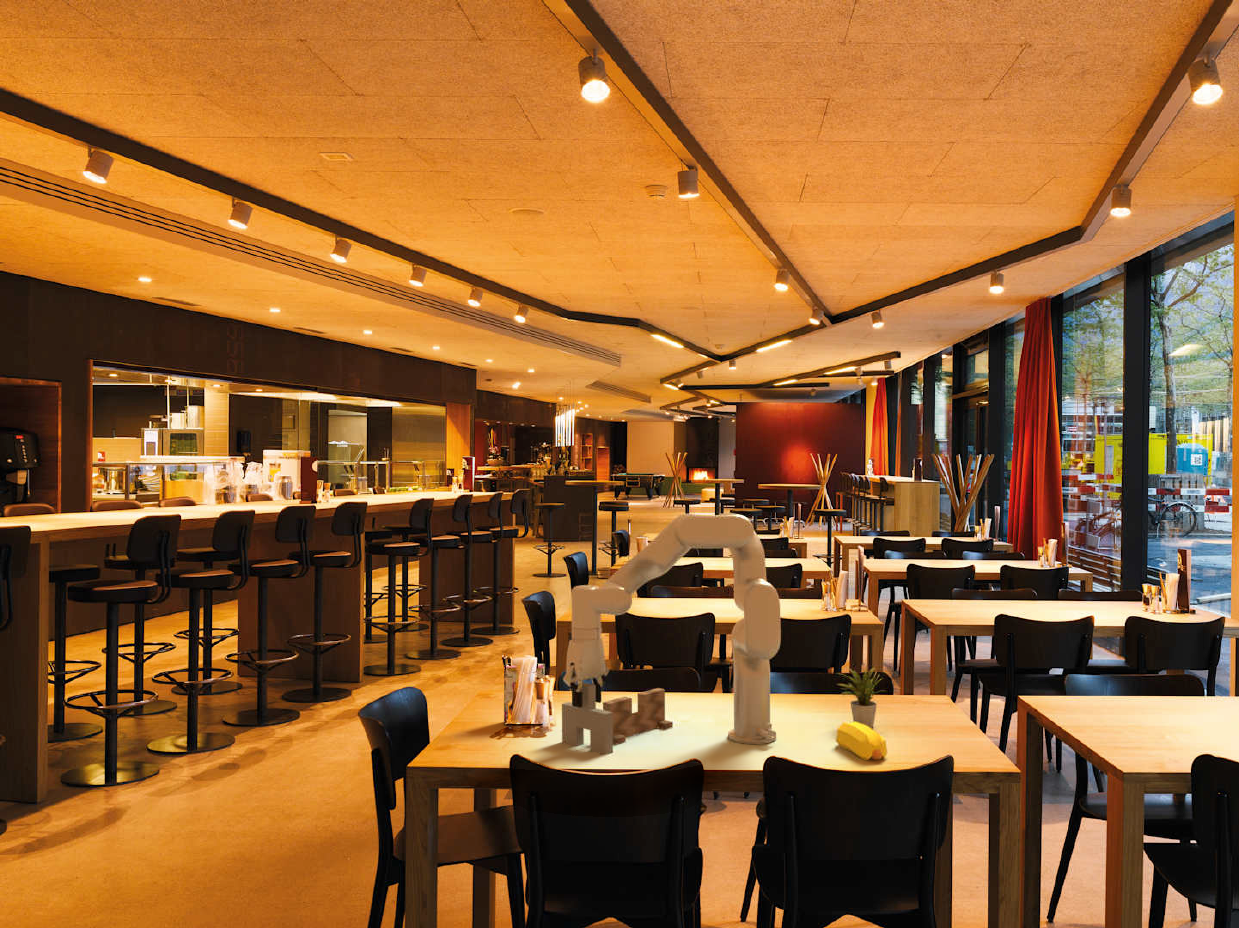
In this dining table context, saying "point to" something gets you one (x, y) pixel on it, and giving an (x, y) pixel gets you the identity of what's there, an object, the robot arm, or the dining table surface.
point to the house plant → (863, 697)
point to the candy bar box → (511, 683)
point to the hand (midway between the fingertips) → (586, 703)
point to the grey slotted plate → (588, 722)
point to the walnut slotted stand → (637, 714)
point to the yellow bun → (861, 741)
